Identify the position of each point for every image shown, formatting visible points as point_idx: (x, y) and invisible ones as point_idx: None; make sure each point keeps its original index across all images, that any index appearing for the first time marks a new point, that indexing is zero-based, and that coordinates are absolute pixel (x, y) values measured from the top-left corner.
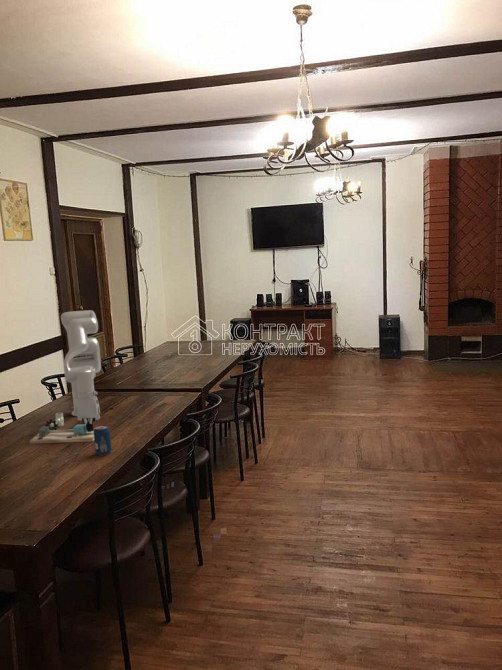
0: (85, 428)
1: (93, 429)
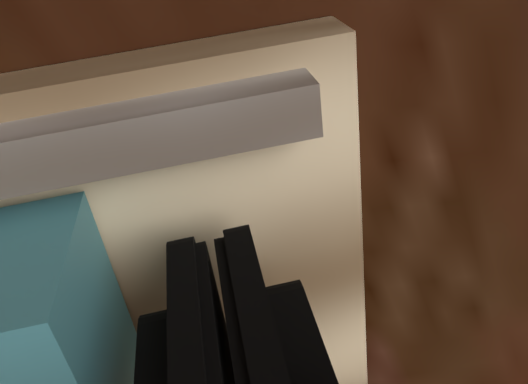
0: (111, 367)
1: (230, 150)
